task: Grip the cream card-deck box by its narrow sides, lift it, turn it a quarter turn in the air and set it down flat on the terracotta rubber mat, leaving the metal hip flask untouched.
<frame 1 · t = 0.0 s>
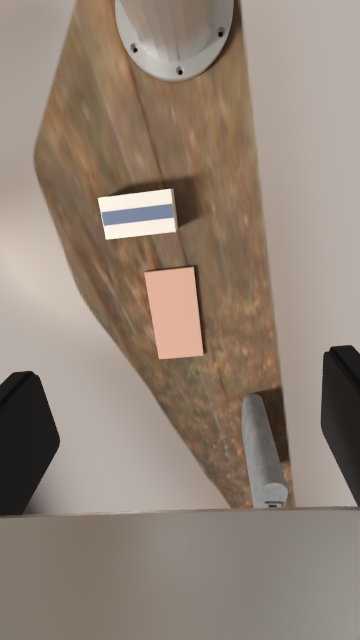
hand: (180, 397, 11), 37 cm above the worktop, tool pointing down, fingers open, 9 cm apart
card box: (142, 212, 44), on the worktop
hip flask: (252, 431, 57), on the worktop
mat: (175, 314, 49), on the worktop
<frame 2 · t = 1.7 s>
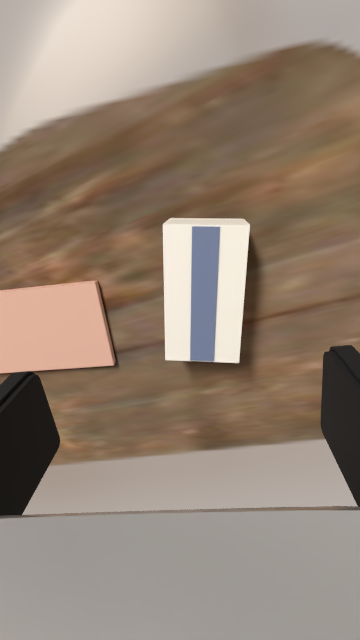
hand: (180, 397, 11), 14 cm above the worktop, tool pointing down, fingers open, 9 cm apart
card box: (204, 281, 24), on the worktop
mat: (25, 330, 27), on the worktop
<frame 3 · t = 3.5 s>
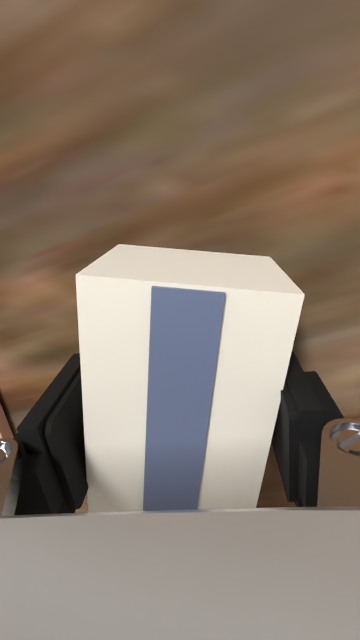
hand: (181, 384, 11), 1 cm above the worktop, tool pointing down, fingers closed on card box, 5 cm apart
card box: (183, 368, 13), on the worktop, touching gripper
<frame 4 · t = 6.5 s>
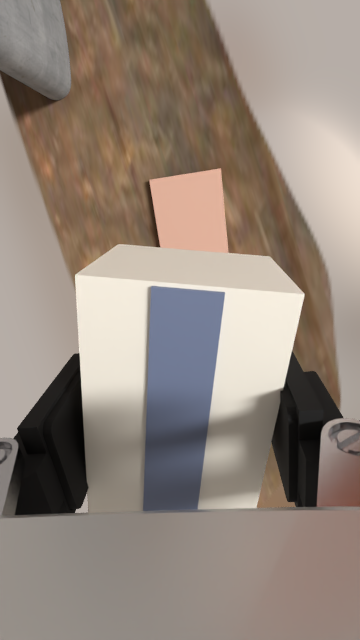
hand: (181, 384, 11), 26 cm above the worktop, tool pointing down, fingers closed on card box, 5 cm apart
card box: (183, 368, 13), point 24 cm above the worktop, touching gripper
mat: (193, 245, 35), on the worktop
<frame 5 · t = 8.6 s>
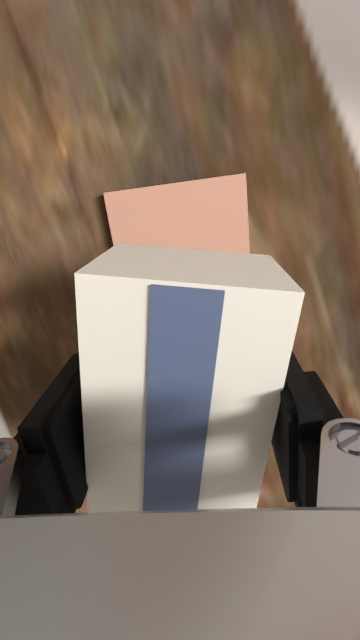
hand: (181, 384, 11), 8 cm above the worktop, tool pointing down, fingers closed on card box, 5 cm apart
card box: (183, 367, 13), point 7 cm above the worktop, touching gripper
mat: (189, 313, 19), on the worktop
when the fingers open (3 cm above the worktop, at t = 10.0 s): card box drops 1 cm, resting on mat.
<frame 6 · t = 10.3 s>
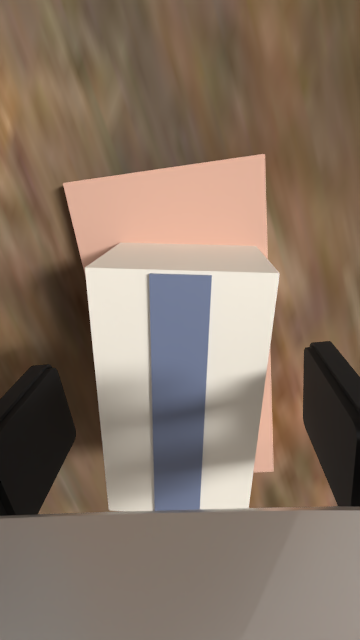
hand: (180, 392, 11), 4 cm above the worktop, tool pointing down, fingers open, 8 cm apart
card box: (185, 352, 14), point 1 cm above the worktop, touching mat
mat: (185, 344, 14), on the worktop
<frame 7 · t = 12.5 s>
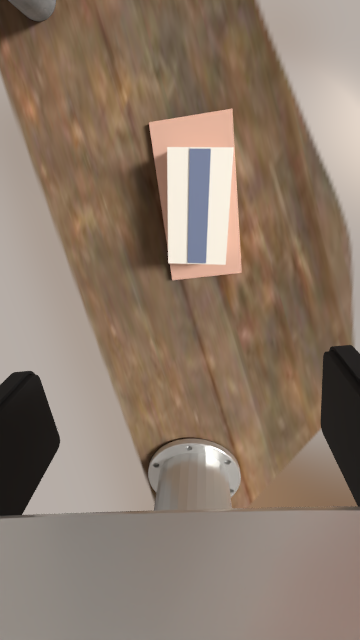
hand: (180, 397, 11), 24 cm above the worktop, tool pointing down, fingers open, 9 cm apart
card box: (198, 204, 30), point 1 cm above the worktop, touching mat
mat: (199, 203, 31), on the worktop
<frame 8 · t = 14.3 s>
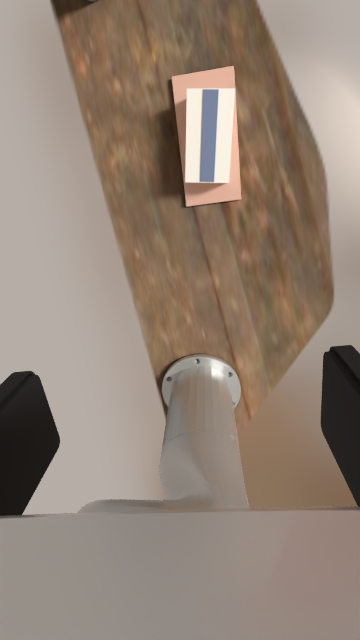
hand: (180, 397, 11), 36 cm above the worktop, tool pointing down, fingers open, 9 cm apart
card box: (208, 142, 39), point 1 cm above the worktop, touching mat
mat: (208, 142, 40), on the worktop
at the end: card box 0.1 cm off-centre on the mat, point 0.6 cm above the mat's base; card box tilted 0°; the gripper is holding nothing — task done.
